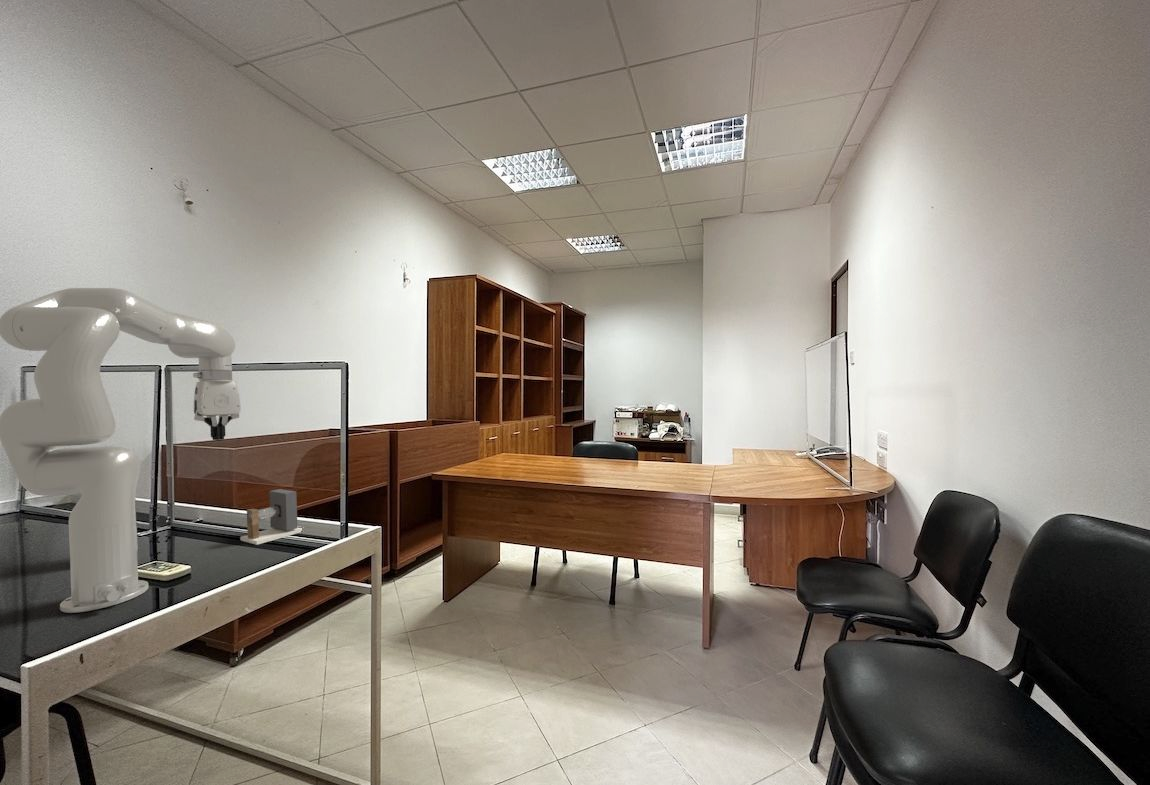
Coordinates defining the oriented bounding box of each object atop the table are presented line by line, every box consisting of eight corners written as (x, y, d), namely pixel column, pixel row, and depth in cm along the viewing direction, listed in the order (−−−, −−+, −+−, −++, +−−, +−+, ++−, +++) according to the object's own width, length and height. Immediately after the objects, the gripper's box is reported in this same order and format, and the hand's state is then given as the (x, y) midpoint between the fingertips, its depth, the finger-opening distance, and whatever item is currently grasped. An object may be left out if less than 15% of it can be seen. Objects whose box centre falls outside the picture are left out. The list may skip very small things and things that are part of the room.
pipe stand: (304, 531, 134) (303, 501, 134) (256, 544, 123) (255, 512, 123) (288, 527, 139) (287, 498, 139) (240, 540, 127) (239, 509, 127)
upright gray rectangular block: (297, 528, 133) (296, 491, 133) (286, 530, 130) (285, 493, 130) (281, 524, 137) (279, 489, 137) (270, 527, 134) (269, 491, 134)
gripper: (189, 376, 121) (192, 443, 121) (251, 376, 134) (253, 437, 134) (178, 377, 125) (180, 442, 125) (239, 377, 138) (241, 436, 138)
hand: (218, 439), depth 130 cm, fingers closed
